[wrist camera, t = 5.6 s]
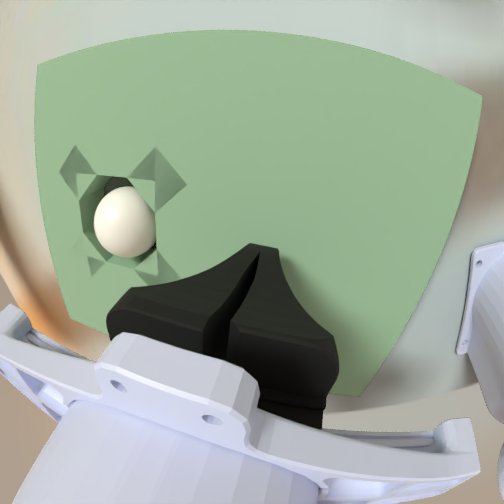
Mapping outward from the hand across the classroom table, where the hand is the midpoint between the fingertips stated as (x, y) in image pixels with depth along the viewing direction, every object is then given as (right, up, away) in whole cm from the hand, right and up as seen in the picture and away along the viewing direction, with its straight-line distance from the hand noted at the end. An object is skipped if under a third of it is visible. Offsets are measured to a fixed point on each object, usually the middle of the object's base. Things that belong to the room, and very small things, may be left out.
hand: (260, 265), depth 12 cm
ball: (-7, +2, +2) cm, 8 cm away
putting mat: (-3, +2, +3) cm, 5 cm away
